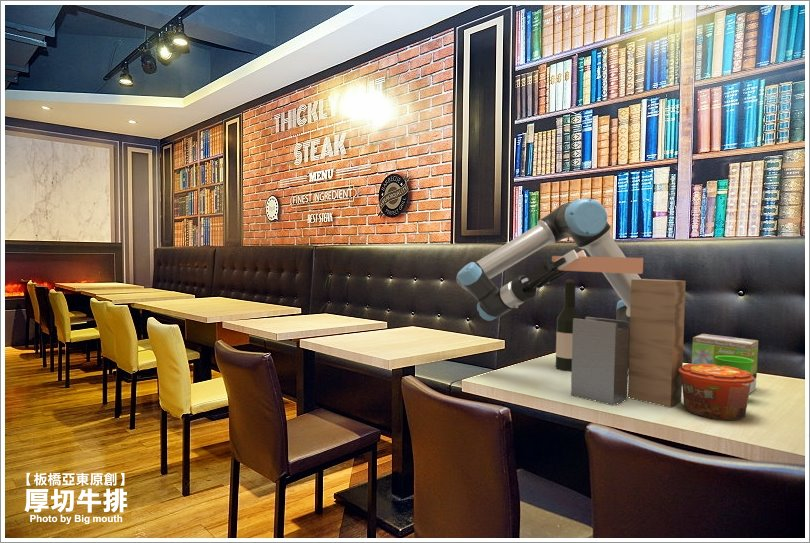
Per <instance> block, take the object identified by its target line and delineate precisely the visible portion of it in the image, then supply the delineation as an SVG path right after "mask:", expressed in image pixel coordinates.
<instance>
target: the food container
mask: <svg viewBox="0 0 810 543" xmlns="http://www.w3.org/2000/svg"><path fill="white" fill-rule="evenodd" d="M678 372H679V373H681V379H682V397H683V398H682V400H683V408H684V410H685V411H687V412H688V413H691V414H693V415H697V416H699V417H703V418H707V419H714V420H720V421H739V420H742V419H744V418H746V413H747V407H748V402H749V401H748V400H749V396H750V394H749V391H750V386H751V382H754V377H753V376H752V375H751V374H750V372H748V371H745V370H739V369H738V368H734V367H729V366H717V365H714V364H697V365H695V364H691V363H686V364H683V366H682V367H681V368H679V370H678Z"/></svg>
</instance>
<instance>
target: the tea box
mask: <svg viewBox="0 0 810 543" xmlns="http://www.w3.org/2000/svg"><path fill="white" fill-rule="evenodd" d="M691 344H692V346H691V348H692V350H691V363H690V364H695V365H697V364H714V365H717V361H716V358H715V356H719V355H727V356H739V357H745V358H749V359H752V360H754V362H753V363H752V368H751V372H750V374H751V375H752V376H753V377H754V382H751V386H750V391H749V393H750V392H751V393H752V392H753V391H755V389H756V387H757V375H758V373H757V372H758V352H759V340H757V339H748V338H742V337H740V338H739V337H733V336H727V335H726V336H724V335H717V334H716V335H715V334H707V333H701V334H698V335H696V336H693V337H692V343H691ZM751 393H750V394H751Z"/></svg>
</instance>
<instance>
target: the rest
mask: <svg viewBox="0 0 810 543" xmlns="http://www.w3.org/2000/svg"><path fill="white" fill-rule="evenodd" d="M628 352H629V321H621V320H616V319H612V318H611V319H610V318H601V317H591V316H585V318H584V319H583V318H581V319H576V318H574V319H573V340H572V371H571V376H570V377H571V380H570V383H571V384H570V386H571V387H570V395H571V396H572V395H574V396H573V397H576V396H579V397H578V398H581V397H583V398H582V399H585V398H587V399H586V400H589V399H591V400H590V401H593V400H596V401H595V402H597V401H600V402H599V403H601V402H604V403H603V404H605V403H608V404H607V405H609V404H612V405H611V406H615V405H614V404H616V405H618V404H620V403H619V402H621V403H623V402H622V401H624V400H626V401H627V400H628V372H629V368H628ZM624 402H625V401H624ZM617 403H618V404H617Z"/></svg>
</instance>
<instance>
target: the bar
mask: <svg viewBox="0 0 810 543" xmlns="http://www.w3.org/2000/svg"><path fill="white" fill-rule="evenodd" d="M562 256H563V255H552V256H551V262H555V261H556V260H557V259H559V258H560V257H562ZM578 258H579V259H577V260H575V261H573V262H572V263H570V264H568V265H567V266H565V267H563V268H562V269H558V268H557V269H558V270H563V271H571V272H586V273H602V272H608V273H630V274H638V275H639V274H640V275H641V274H643V273H644V257H627V256H625V257H591V256H587V257H578Z"/></svg>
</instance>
